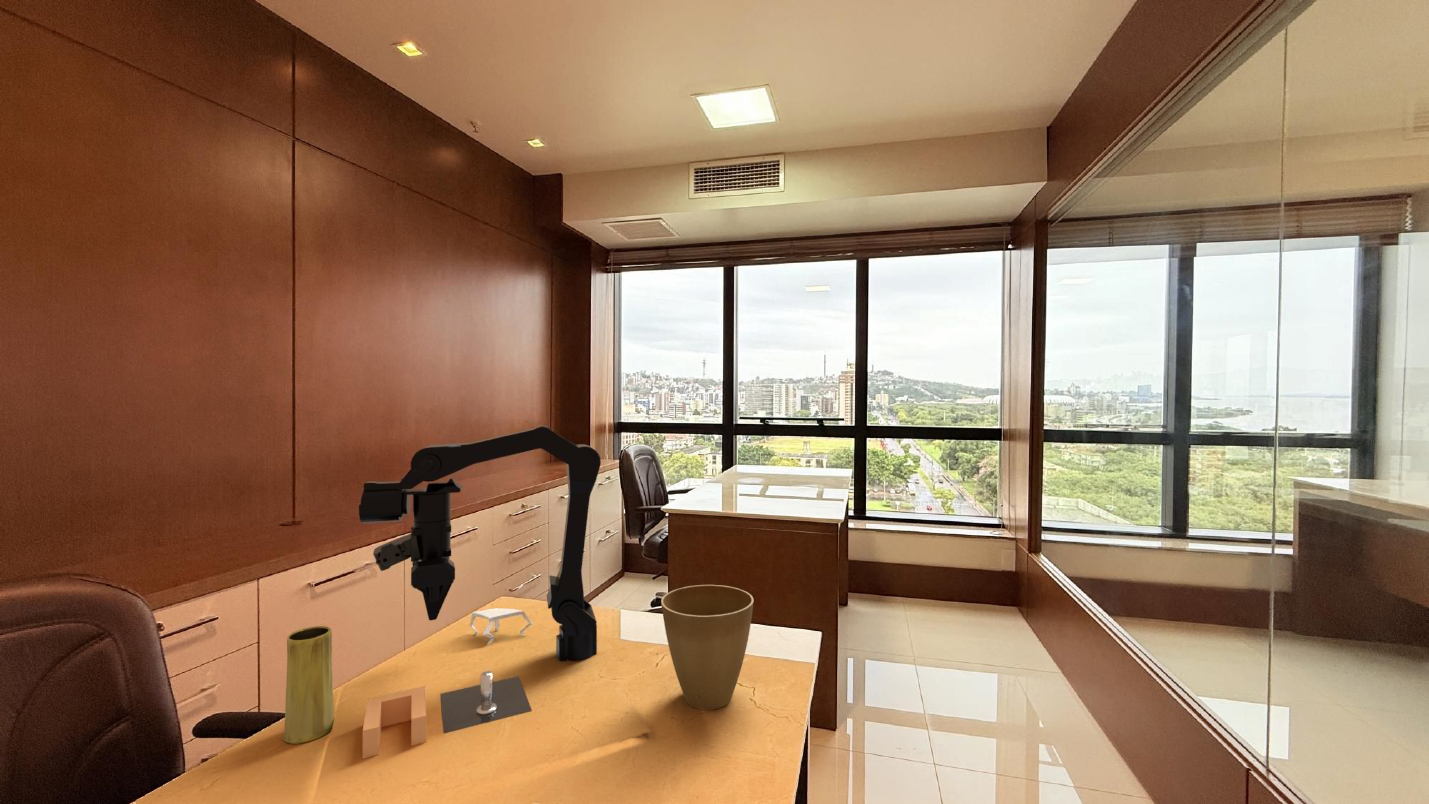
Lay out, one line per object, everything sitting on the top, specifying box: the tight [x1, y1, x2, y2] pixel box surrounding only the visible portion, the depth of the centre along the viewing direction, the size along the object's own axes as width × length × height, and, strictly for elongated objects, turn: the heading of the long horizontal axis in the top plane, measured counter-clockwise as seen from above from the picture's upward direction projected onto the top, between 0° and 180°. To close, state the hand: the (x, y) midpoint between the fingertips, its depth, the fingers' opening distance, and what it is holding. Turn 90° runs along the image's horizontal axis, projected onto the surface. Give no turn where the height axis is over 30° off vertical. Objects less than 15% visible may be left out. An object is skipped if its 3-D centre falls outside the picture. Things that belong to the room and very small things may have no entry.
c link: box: [362, 685, 427, 759], centre depth 78 cm, size 7×9×4 cm
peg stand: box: [440, 670, 533, 734], centre depth 86 cm, size 12×12×6 cm
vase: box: [282, 625, 335, 745], centre depth 80 cm, size 6×6×14 cm
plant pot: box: [660, 584, 754, 711], centre depth 89 cm, size 15×15×16 cm
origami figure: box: [469, 607, 533, 645], centre depth 113 cm, size 12×8×5 cm
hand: (432, 610), depth 95 cm, fingers open, 9 cm apart
